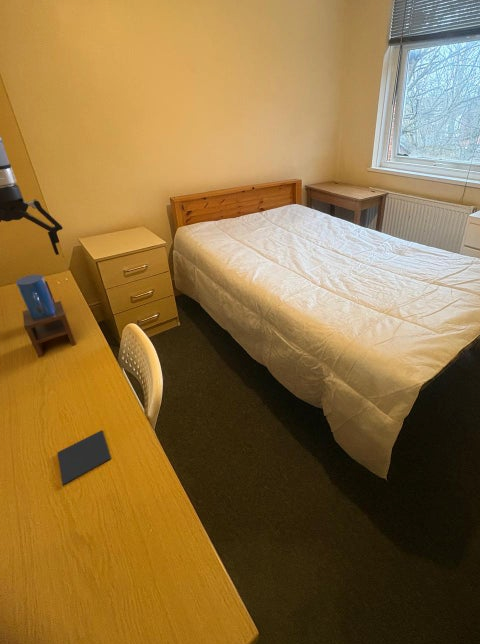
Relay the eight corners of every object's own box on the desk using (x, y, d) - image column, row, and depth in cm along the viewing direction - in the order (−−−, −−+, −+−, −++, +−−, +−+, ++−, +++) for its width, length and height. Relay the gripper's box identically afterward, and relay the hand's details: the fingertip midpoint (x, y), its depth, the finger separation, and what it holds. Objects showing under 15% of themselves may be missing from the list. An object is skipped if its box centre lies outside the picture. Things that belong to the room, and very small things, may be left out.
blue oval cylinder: (30, 311, 100) (15, 278, 95) (54, 305, 104) (41, 272, 99) (31, 324, 95) (16, 290, 89) (57, 317, 98) (44, 283, 93)
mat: (57, 453, 72) (57, 452, 72) (102, 430, 78) (102, 429, 77) (63, 485, 66) (62, 484, 66) (111, 459, 71) (110, 458, 71)
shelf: (36, 341, 106) (22, 311, 101) (71, 329, 112) (60, 300, 106) (38, 357, 99) (24, 326, 94) (76, 344, 105) (64, 314, 100)
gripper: (-71, 195, 73) (-30, 276, 83) (59, 182, 88) (81, 252, 98) (-69, 189, 78) (-30, 266, 88) (54, 177, 93) (75, 245, 103)
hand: (28, 259), depth 93 cm, fingers open, 13 cm apart
